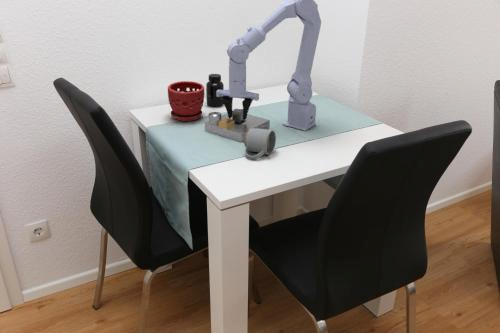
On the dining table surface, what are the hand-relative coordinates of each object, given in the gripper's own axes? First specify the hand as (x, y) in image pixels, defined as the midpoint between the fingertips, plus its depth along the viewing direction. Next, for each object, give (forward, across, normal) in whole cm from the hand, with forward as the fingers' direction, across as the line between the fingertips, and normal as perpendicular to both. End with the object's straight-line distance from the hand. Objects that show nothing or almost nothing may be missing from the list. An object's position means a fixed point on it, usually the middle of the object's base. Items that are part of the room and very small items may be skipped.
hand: (237, 118), depth 162 cm
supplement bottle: (+4, +16, -22) cm, 28 cm away
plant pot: (+4, +21, -6) cm, 23 cm away
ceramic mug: (+4, -12, +17) cm, 21 cm away
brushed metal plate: (+4, 0, 0) cm, 4 cm away
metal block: (+4, 0, 0) cm, 4 cm away
